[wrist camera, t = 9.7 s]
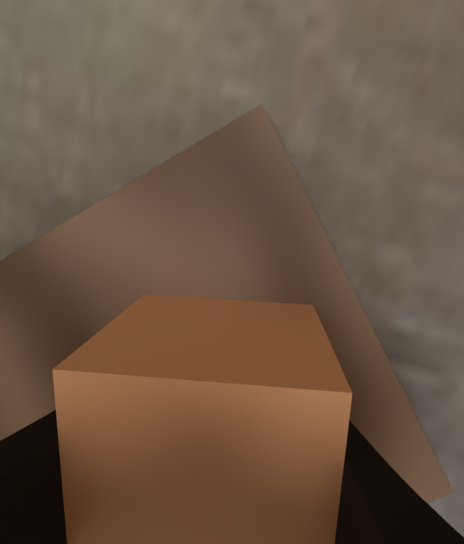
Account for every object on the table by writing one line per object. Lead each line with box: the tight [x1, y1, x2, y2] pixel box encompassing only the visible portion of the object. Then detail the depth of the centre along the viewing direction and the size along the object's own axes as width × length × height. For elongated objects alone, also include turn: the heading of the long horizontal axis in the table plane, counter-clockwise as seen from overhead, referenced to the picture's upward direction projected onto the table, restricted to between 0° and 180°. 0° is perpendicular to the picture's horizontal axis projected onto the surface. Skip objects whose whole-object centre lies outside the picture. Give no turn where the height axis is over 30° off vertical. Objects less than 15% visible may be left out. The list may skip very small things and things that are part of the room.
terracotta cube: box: [52, 295, 352, 544], centre depth 9 cm, size 5×5×5 cm
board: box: [0, 104, 454, 502], centre depth 13 cm, size 20×14×2 cm
